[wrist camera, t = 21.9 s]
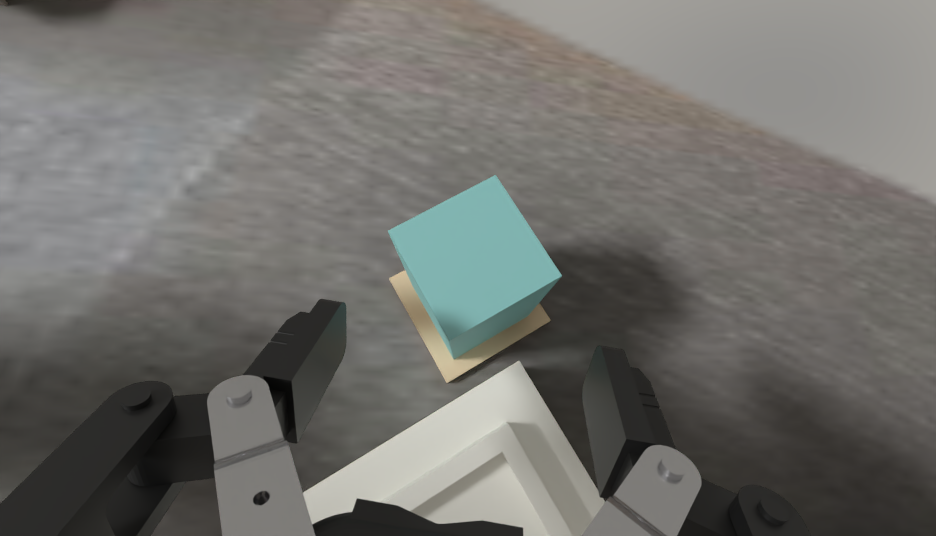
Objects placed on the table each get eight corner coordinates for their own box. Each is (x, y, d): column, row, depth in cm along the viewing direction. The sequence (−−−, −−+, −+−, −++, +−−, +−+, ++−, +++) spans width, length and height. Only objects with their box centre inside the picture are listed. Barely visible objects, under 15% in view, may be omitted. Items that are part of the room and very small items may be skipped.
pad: (390, 281, 27) (389, 278, 26) (488, 227, 28) (489, 224, 27) (447, 383, 25) (446, 382, 24) (548, 322, 26) (550, 320, 25)
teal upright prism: (412, 285, 26) (387, 230, 17) (484, 246, 27) (495, 174, 18) (453, 359, 25) (449, 340, 16) (527, 316, 25) (562, 275, 17)
